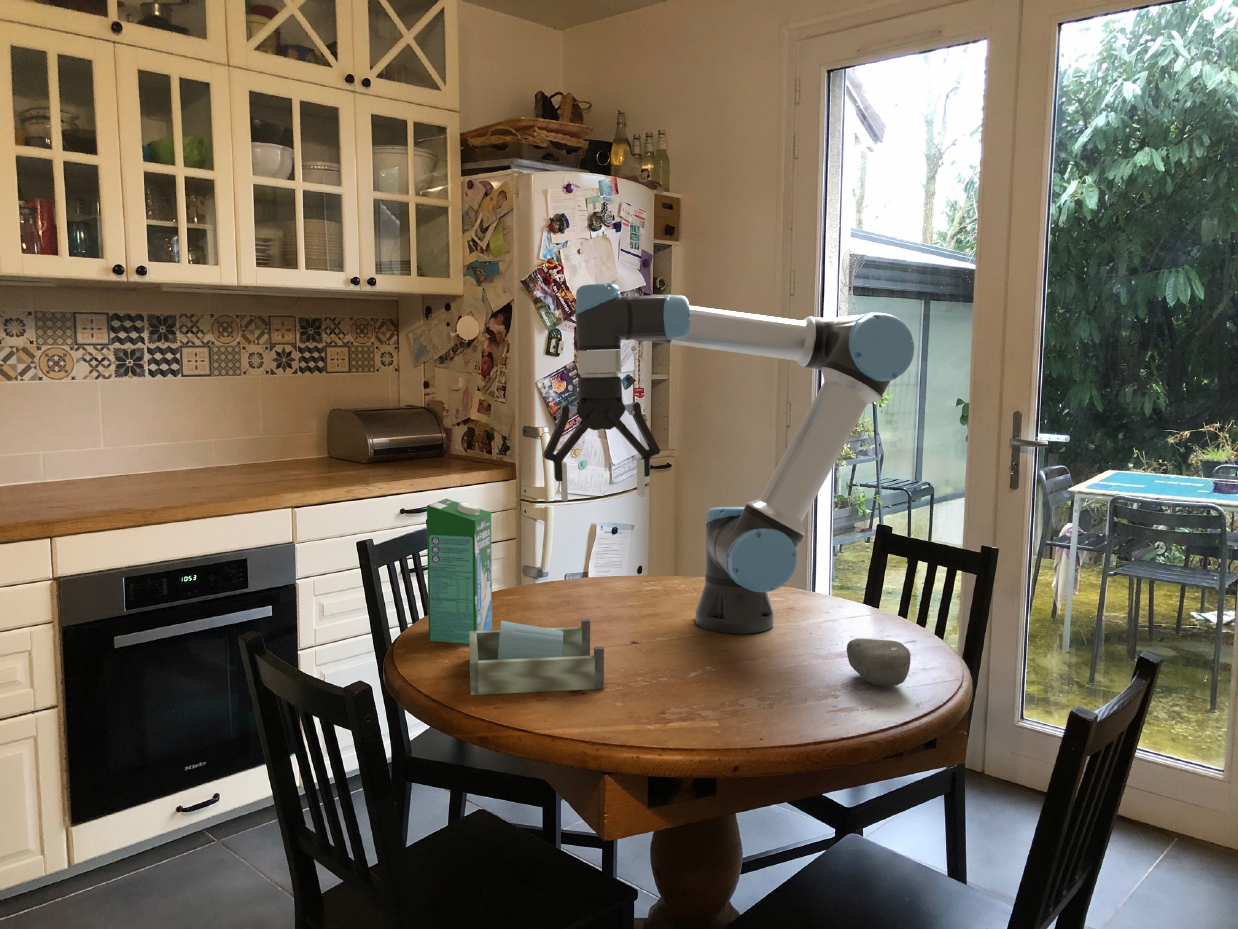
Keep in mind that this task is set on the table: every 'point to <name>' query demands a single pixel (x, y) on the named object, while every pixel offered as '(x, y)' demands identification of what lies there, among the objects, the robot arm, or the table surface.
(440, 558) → the milk carton
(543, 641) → the cup
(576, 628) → the bay
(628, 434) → the robot arm
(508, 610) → the table surface
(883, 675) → the stone
